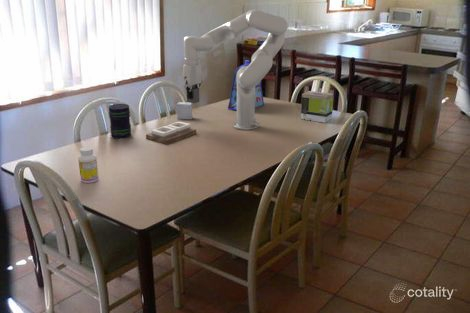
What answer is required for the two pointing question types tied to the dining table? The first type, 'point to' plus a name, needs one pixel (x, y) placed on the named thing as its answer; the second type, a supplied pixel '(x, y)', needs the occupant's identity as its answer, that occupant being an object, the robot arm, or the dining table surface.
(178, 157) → the dining table surface
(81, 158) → the supplement bottle
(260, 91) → the lunch bag
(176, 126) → the socket plate
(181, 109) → the medicine box
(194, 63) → the robot arm
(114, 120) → the storage jar
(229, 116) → the dining table surface
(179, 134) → the walnut board
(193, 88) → the plug
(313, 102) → the tea box
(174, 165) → the dining table surface
